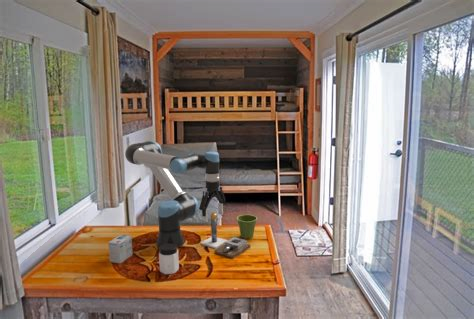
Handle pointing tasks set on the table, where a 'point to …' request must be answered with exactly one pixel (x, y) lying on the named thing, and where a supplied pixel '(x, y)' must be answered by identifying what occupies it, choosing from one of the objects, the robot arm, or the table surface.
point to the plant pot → (246, 225)
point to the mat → (215, 245)
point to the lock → (233, 247)
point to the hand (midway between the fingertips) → (213, 217)
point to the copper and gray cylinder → (213, 227)
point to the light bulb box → (120, 248)
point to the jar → (168, 258)
